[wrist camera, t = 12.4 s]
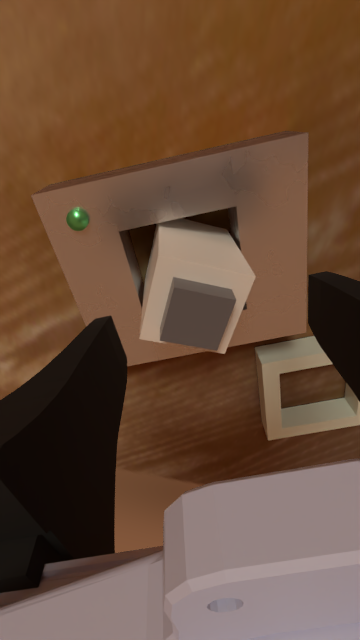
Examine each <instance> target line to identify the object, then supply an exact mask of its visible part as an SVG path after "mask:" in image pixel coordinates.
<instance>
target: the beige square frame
mask: <svg viewBox="0 0 360 640" xmlns="http://www.w3.org/2000/svg"><path fill="white" fill-rule="evenodd" d="M255 357H256V367H257V378H258V388H259V399H260V409H261V420H262V424H263V427H264V430H265V433H266V436H267V439H268V440H274V439H280V438H286V437H292V436H298V435H303V434H309V433H315V432H321V431H327V430H333V429H339V428H344V427H350V426H356V425H360V402H359V400H358V399H357V397H356V395H355V394H354V392H353V391H352V390H351V388H350V387H349V385H348V384H347V383H346V387H345V397H344V398H340V399H334V400H328V401H323V402H317V403H311V404H306V405H300V406H295V407H289V408H283V409H281V398H280V376H279V374H281V373H287V372H292V371H298V370H303V369H308V368H314V367H319V366H325V365H330V364H332V362H331V361H330V359H329V358H328V357H327V355H326V354H325V352H324V351H323V350H322V348H321V347H320V345H319V344H318V342H317V340H316V338H315V336H312V337H306V338H301V339H296V340H290V341H285V342H280V343H274V344H269V345H264V346H259V347H255Z"/></svg>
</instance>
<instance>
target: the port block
mask: <svg viewBox="0 0 360 640" xmlns="http://www.w3.org/2000/svg"><path fill="white" fill-rule="evenodd" d="M31 196H32V199H33V201H34V204H35V206H36V208H37V211H38V213H39V215H40V218H41V220H42V223H43V225H44V227H45V230H46V232H47V234H48V237H49V239H50V242H51V244H52V246H53V249H54V251H55V253H56V256H57V258H58V261H59V263H60V265H61V268H62V270H63V272H64V275H65V277H66V279H67V282H68V284H69V287H70V289H71V291H72V294H73V296H74V298H75V301H76V303H77V306H78V308H79V310H80V313H81V315H82V317H83V320H84V322H85V325H86V327H87V326H88V325H89V324H90V323H91V322H92V321H93V320H94V319H96V318H101V317H106V316H112V319H113V322H114V324H115V327H116V330H117V332H118V335H119V338H120V340H121V343H122V346H123V348H124V351H125V354H126V356H127V366H132V365H137V364H142V363H147V362H153V361H158V360H163V359H168V358H174V357H179V356H184V355H190V354H195V353H200V352H205V350H199V349H193V348H187V347H182V346H176V345H170V344H165V343H159V342H153V341H147V340H142V339H139V337H140V326H141V316H142V306H143V295H144V284H143V280H142V277H141V273H140V270H139V266H138V263H137V259H136V256H135V252H134V249H133V245H132V242H131V238H130V235H129V231H128V229H133V228H137V227H142V226H147V225H151V224H156V223H161V222H165V221H170V220H175V219H179V218H184V217H188V216H193V215H198V214H202V213H207V212H212V211H216V210H221V209H226V208H228V216H229V225H230V233H231V237H232V238H233V240H234V242H235V243H236V245H237V247H238V248H239V250H240V251H241V253H242V255H243V256H244V258H245V260H246V261H247V263H248V264H249V266H250V268H251V269H252V271H253V273H254V274H255V276H256V277H255V280H254V282H253V285H252V287H251V290H250V292H249V295H248V297H247V300H246V302H245V305H244V307H243V310H242V312H241V315H240V317H239V320H238V322H237V325H236V327H235V329H234V332H233V334H232V337H231V339H230V342H229V344H228V347H232V346H237V345H242V344H248V343H253V342H258V341H263V340H269V339H274V338H279V337H284V336H290V335H295V334H300V333H305V332H306V298H307V200H308V133H306V132H293V131H284V132H279V133H275V134H271V135H266V136H262V137H257V138H253V139H249V140H244V141H240V142H235V143H231V144H227V145H222V146H218V147H213V148H209V149H205V150H200V151H196V152H191V153H187V154H183V155H178V156H174V157H169V158H165V159H161V160H156V161H152V162H147V163H143V164H139V165H134V166H130V167H126V168H121V169H117V170H112V171H108V172H104V173H99V174H95V175H90V176H86V177H82V178H77V179H73V180H68V181H64V182H60V183H55V184H51V185H48V186H47V187H45V188H43V189H41V190H40V191H38V192H36V193H34V194H33V195H31Z"/></svg>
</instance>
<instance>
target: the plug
mask: <svg viewBox="0 0 360 640" xmlns="http://www.w3.org/2000/svg"><path fill="white" fill-rule="evenodd" d="M255 277H256V276H255V274H254V273H253V271H252V269H251V268H250V266H249V264H248V263H247V261H246V260H245V258H244V256H243V255H242V253H241V251H240V250H239V248H238V247H237V245H236V243H235V242H234V240H233V238H232V237H231V235H230V234H229V232H228V230H227V229H224V228H219V227H215V226H211V225H207V224H203V223H199V222H195V221H191V220H187V219H183V218H179V219H175V220H170V221H165V222H161V223H157V225H156V229H155V234H154V239H153V243H152V248H151V253H150V257H149V262H148V267H147V272H146V276H145V285H144V295H143V306H142V316H141V326H140V337H139V339H142V340H147V341H153V342H159V343H165V344H170V345H176V346H182V347H187V348H193V349H199V350H205V351H210V352H216V353H222V354H225V352H226V349H227V347H228V344H229V342H230V339H231V337H232V334H233V332H234V329H235V327H236V325H237V322H238V320H239V317H240V315H241V312H242V310H243V307H244V305H245V302H246V300H247V297H248V295H249V292H250V290H251V287H252V285H253V282H254V280H255Z"/></svg>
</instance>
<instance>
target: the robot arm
mask: <svg viewBox="0 0 360 640" xmlns="http://www.w3.org/2000/svg"><path fill="white" fill-rule="evenodd" d="M308 324H309V326H310V328H311V330H312V332H313V334H314V336H315V338H316V340H317V342H318V344H319V345H320V347H321V348H322V350H323V351H324V352H325V354H326V355H327V357H328V358H329V359H330V361H331V362H332V364H333V365H334V366H335V368H336V369H337V370H338V372H339V373H340V374H341V376H342V377H343V379H344V380H345V381H346V383H347V384H348V385H349V387H350V388H351V390H352V391H353V392H354V394H355V395H356V397H357V399H358V400H359V402H360V281H357V280H354V279H351V278H348V277H345V276H342V275H339V274H335V273H331V272H321V273H316V274H311V275H309V280H308ZM126 384H127V356H126V354H125V351H124V348H123V346H122V343H121V340H120V338H119V335H118V332H117V330H116V327H115V324H114V322H113V319H112V316H106V317H101V318H96V319H94V320H93V321H92V322H91V323H90V324H89V325H88V326H87V327H86V328H85V329H84V330H83V331H82V332H81V333H80V334H79V335H78V336H77V337H76V338H75V339H74V340H73V341H72V342H71V343H70V344H69V345H68V346H67V347H66V348H65V349H64V350H63V351H62V352H61V353H60V354H59V355H57V356H56V357H55V358H54V359H53V360H52V361H51V362H50V363H49V364H48V365H47V366H46V367H44V368H43V369H42V370H41V371H40V372H39V373H37V374H36V375H35V376H34V377H32V378H31V379H30V380H29V381H27V382H26V383H25V384H23V385H22V386H21V387H19V388H18V389H17V390H15V391H14V392H12V393H11V394H9V395H8V396H6V397H5V398H3V399H2V400H0V640H360V459H350V460H344V461H338V462H332V463H326V464H320V465H314V466H308V467H302V468H296V469H290V470H284V471H278V472H272V473H266V474H260V475H254V476H248V477H242V478H236V479H230V480H224V481H218V482H212V483H209V484H206V485H203V486H200V487H197V488H194V489H191V490H188V491H186V492H184V493H183V494H182V495H181V496H180V497H179V498H178V499H177V500H176V501H175V502H173V503H172V504H171V505H170V506H169V507H168V508H167V509H166V510H165V511H164V526H163V531H164V532H163V537H164V538H163V543H164V544H163V546H158V547H152V548H146V549H139V550H133V551H126V552H120V553H115V550H114V507H115V505H114V504H115V500H114V499H115V471H116V453H117V440H118V432H119V426H120V420H121V415H122V409H123V403H124V397H125V390H126Z"/></svg>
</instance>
